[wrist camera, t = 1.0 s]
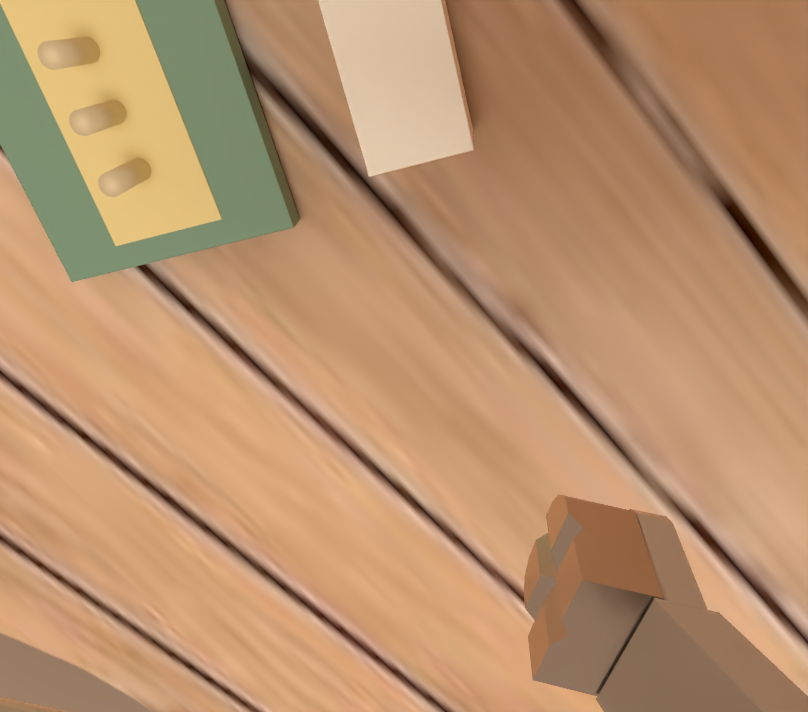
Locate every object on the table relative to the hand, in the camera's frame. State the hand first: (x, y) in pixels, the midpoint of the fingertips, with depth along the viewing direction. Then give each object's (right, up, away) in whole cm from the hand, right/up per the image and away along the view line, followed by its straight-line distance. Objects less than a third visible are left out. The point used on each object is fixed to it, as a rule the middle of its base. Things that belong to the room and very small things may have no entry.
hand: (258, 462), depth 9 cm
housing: (+2, +18, +24) cm, 30 cm away
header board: (-13, +15, +27) cm, 33 cm away
